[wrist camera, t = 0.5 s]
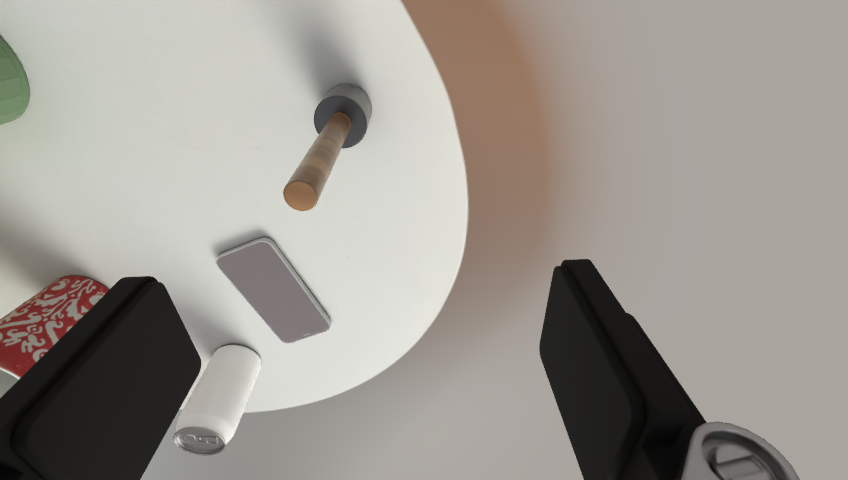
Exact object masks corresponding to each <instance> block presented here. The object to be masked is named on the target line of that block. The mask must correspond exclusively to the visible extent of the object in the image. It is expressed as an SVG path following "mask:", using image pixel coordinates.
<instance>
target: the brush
mask: <svg viewBox="0 0 848 480" xmlns="http://www.w3.org/2000/svg"><path fill="white" fill-rule="evenodd" d="M371 114H372V106H371V102H370V99H369V97H368V96H367V94H366V93H365V92H364V91H363V90H362V89H361V88H359V87H357V86H355V85H352V84H340V85H337V86H335V87H334V88H332V89H331V90H330V91H329V93H328V94H327V95H326V96H325V97H324V99H323V100H322V101H321V102H320V103H319V105H318V106H317V108H316V110H315V114H314V124H315V128H316V130H317V132H318V134H319V136H318V137H317V139H316V140H315V142H314V143H313V145H312V146H311V148H310V149H309V151H308V153H307V154H306V156H305V157H304V159H303V160H302V162H301V163H300V165H299V166H298V168H297V169H296V171H295V172H294V174H293V176H292V177H291V179H290V180H289V182H288V183H287V185H286V186H285V188H284V192H283V194H284V199H285V201H286V202H287V204H288V205H289V206H290V207H292V208H294V209H296V210H299V211H306V210H310V209H312V208H313V207H314V206H315V205H316V203H317V201H318V199H319V197H320V195H321V192H322V190H323V188H324V186H325V183H326V181H327V179H328V177H329V175H330V172H331V170H332V168H333V166H334V163H335V161H336V159H337V157H338V155H339V152H340V150H341V148H349V147H352V146H354V145H356V144H358V143H359V142H360V141H361V140H362V139H363V137H364V135H365V133H366V130H367V127H368V124H369V121H370V118H371Z"/></svg>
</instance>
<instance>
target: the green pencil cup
mask: <svg viewBox="0 0 848 480" xmlns="http://www.w3.org/2000/svg"><path fill="white" fill-rule="evenodd" d="M29 95H30V94H29V84H28V80H27V77H26V74H25V71H24V69H23V67H22V65H21V63H20V61H19V60H18V58H17V56H16V55H15V53H14V52H13V51H12V49H11V48H10V47H9V45H8V44H7V43H6V42H5V41H4V40H3V39H2V38H1V37H0V125H1V124H4V123H7V122H10V121H12V120H15V119H16V118H18V117H19V116H20V115H21V114H22V113H23V112H24V111H25V109H26V107H27V105H28V102H29Z"/></svg>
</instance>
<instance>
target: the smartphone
mask: <svg viewBox="0 0 848 480" xmlns="http://www.w3.org/2000/svg"><path fill="white" fill-rule="evenodd" d="M216 264H217V266H218V268H219V269H220V270H221V271H222V272H223V273H224V275H225V276H226V277H227V278H228V279H229V280H230V282H231V283H232V284H233V285H234V286H235V288H236V289H237V290H238V291H239V292H240V293H241V295H242V296H243V297H244V298H245V299H246V300H247V302H248V303H249V304H250V305H251V306H252V307H253V309H254V310H255V311H256V312H257V313H258V315H259V316H260V317H261V318H262V319H263V320H264V322H265V323H266V324H267V325H268V326H269V327H270V329H271V330H272V331H273V332H274V333H275V335H276V336H277V337H278V338H279V339H280V340H281V341H282V342H285V343H292V342H295V341H298V340H301V339H304V338H308V337H311V336H314V335H317V334H320V333H323V332H326V331H327V330H329V328H330V325H331V320H330V319H329V317H328V316H327V314H326V313H325V312H324V310H323V309H322V308H321V306H320V305H319V303H318V302H317V301H316V299H315V298H314V297H313V295H312V294H311V292H310V291H309V290H308V288H307V287H306V286H305V284H304V283H303V281H302V280H301V279H300V277H299V276H298V275H297V273H296V272H295V270H294V269H293V268H292V266H291V265H290V264H289V262H288V261H287V259H286V258H285V257H284V255H283V254H282V253H281V251H280V250H279V248H278V247H277V246H276V244H275V243H274V242H273V241H272V240H271V239H269V238H259V239H257V240H254V241H251V242H249V243H246V244H244V245H241V246H239V247H236V248H234V249H231V250H228V251H226V252H223V253H222V254H220V255H219V257H218V258H217V260H216Z"/></svg>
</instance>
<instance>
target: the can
mask: <svg viewBox="0 0 848 480" xmlns="http://www.w3.org/2000/svg"><path fill="white" fill-rule="evenodd" d="M260 368H261V360H260V358H259V356H258V355H257V353H256V352H255V351H253V350H252V349H250V348H248V347H246V346H242V345H235V344H232V345H226V346H223V347H221V348H219V349H218V350H216V352H215V353H214V355H213V356H212V358H211V360H210V362H209V363H208V365H207V367H206V369H205V371H204V372H203V374H202V376H201V378H200V380H199V382H198V383H197V385H196V387H195V389H194V391H193V393H192V395H191V396H190V398H189V400H188V402H187V404H186V406H185V407H184V409H183V411H182V413H181V415H180V417H179V419H178V421H177V425H176V426H177V427H176V433H175V434H174V437H173V438H174V442H175V444H176V445H177V446H178V447H179V448H181V449H182V450H184V451H186V452H189V453H192V454H196V455H214V454H218V453H220V452H221V451H222V450H224V448H225V445H226V444H227V443H228V442H229V440H230V439H231V438H232V437H233V435H234V433H235V431H236V429H237V426H238V424H239V421H240V419H241V416H242V414H243V411H244V409H245V406H246V404H247V401H248V399H249V396H250V394H251V391H252V389H253V386H254V384H255V381H256V379H257V376H258V374H259V371H260Z"/></svg>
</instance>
